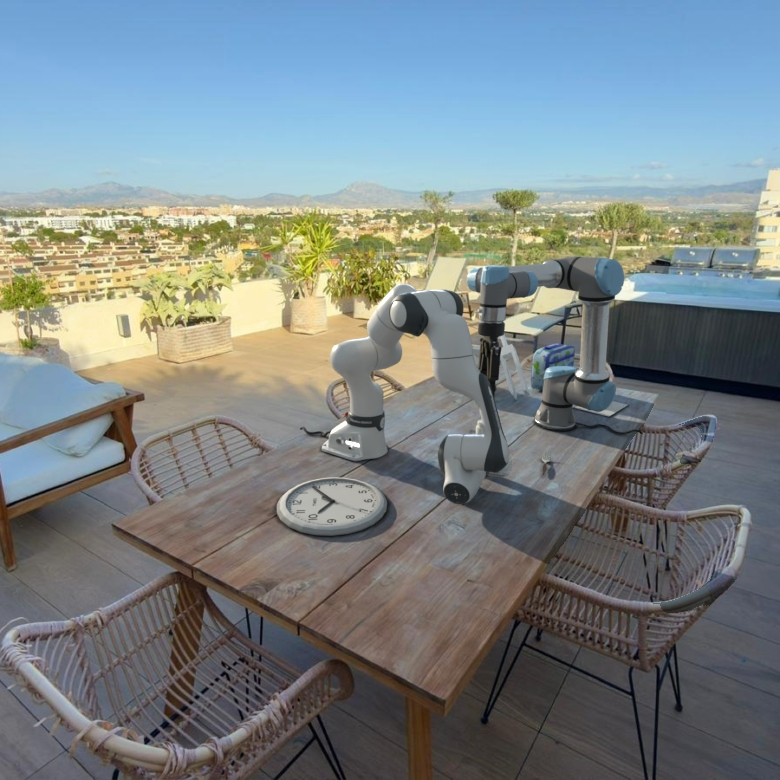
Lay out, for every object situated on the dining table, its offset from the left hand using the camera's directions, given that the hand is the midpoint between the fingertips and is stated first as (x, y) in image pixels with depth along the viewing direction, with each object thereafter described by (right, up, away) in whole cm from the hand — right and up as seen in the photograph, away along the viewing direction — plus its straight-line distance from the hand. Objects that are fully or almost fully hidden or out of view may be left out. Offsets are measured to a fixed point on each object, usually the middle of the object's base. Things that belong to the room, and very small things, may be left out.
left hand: (482, 451), depth 163 cm
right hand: (0, +17, -6) cm, 18 cm away
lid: (0, +21, -7) cm, 22 cm away
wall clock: (-44, -12, -20) cm, 50 cm away
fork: (+21, -5, +6) cm, 23 cm away
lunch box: (+49, +20, +89) cm, 104 cm away
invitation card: (+63, +12, +64) cm, 90 cm away
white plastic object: (+13, +18, +81) cm, 84 cm away
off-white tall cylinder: (0, -7, +1) cm, 7 cm away
